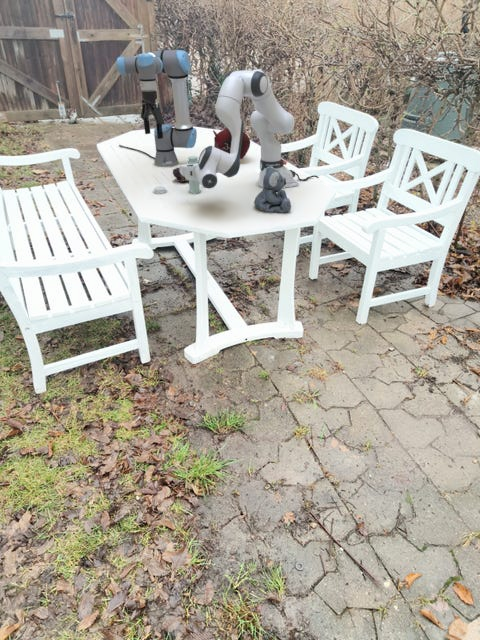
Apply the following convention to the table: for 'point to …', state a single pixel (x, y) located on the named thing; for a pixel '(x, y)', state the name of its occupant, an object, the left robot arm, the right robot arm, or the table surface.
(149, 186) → the table surface
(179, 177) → the rock
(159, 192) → the lid
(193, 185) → the jar
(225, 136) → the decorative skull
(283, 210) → the koala plush
